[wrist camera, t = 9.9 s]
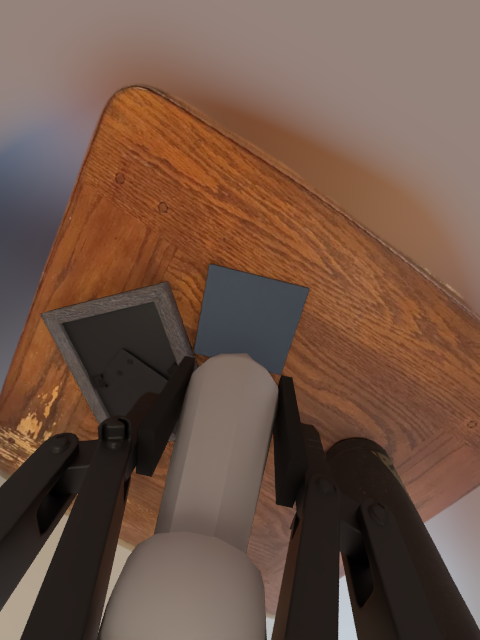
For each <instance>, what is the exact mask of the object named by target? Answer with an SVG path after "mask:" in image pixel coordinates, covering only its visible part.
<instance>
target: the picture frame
mask: <svg viewBox="0 0 480 640" xmlns="http://www.w3.org/2000/svg"><path fill="white" fill-rule="evenodd" d="M40 315H41V317H42V319H43V320H44V322H45V324H46V326H47V328H48V330H49V332H50V334H51V335H52V337H53V339H54V341H55V343H56V345H57V347H58V349H59V350H60V352H61V354H62V356H63V358H64V360H65V362H66V363H67V365H68V367H69V369H70V371H71V373H72V375H73V377H74V378H75V380H76V382H77V384H78V386H79V388H80V390H81V392H82V393H83V395H84V397H85V399H86V401H87V403H88V405H89V406H90V408H91V410H92V412H93V414H94V416H95V418H96V420H97V421H98V423H99V425H100V424H101V422H103V421H104V420H105V419H107V418H109V417H112V416H118V415H121V416H126V414H127V413H128V412H129V410H131V408H132V406H133V405H134V404H135V403H136V401H137V400H138V399H139V397H140V396H142V395H143V394H145V393H146V392H153V393H158V394H160V393H161V391H162V390H163V388H164V387H165V385H166V384H167V382H168V380H169V379H170V377H171V376H172V374H173V373H174V371H175V370H176V368H177V367H178V365H179V364H180V362H181V361H182V359H183V358H184V356H189V357H194V354H193V351H192V348H191V345H190V342H189V340H188V337H187V334H186V331H185V328H184V325H183V322H182V319H181V316H180V314H179V311H178V308H177V305H176V302H175V299H174V296H173V293H172V290H171V288H170V285H169V282H168V281H166V282H162V283H158V284H154V285H150V286H146V287H142V288H138V289H134V290H130V291H126V292H122V293H118V294H114V295H110V296H106V297H102V298H98V299H94V300H90V301H86V302H82V303H78V304H74V305H70V306H66V307H62V308H58V309H54V310H50V311H48V312H45V313H42V314H40ZM194 358H195V357H194ZM197 368H198V365H197V363H196V360H195V367H194V371H195V370H196V369H197ZM179 419H180V417H179ZM179 419H178V421H177V423H176V425H175V427H174V430H173V432H172V434H171V436H170V438H169V440H168V441H175V437H176V433H177V428H178V424H179Z"/></svg>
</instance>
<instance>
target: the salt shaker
mask: <svg viewBox="0 0 480 640" xmlns="http://www.w3.org/2000/svg"><path fill="white" fill-rule="evenodd" d="M277 411H278V387H277V385H276V383H275V382H274V380H273V378H272V377H271V375H270V374H269V372H268V371H267V369H266V368H264V367H263V366H262V365H260V364H259V363H257V362H256V361H254V360H253V359H252V358H251V357H250V356H249V355H248V354H247V353H240V354H219V355H217V356H214V357H211V358H209V359H208V360H207V361H206V362H204V363H203V364H202V365H201V366H200V367H198V368H197V369H196V370H195V371H194V372H193V373H192V376H191V378H190V381H189V383H188V386H187V389H186V392H185V397H184V401H183V406H182V410H181V415H180V419H179V424H178V428H177V433H176V437H175V442H174V446H173V451H172V455H171V460H170V465H169V469H168V474H167V478H166V483H165V487H164V492H163V496H162V501H161V505H160V510H159V514H158V519H157V523H156V528H155V532H154V536H152V537H150V538H148V539H147V540H145V541H143V542H142V543H140V544H138V545H137V546H136V547H135V549H134V550H133V552H132V553H131V554H130V556H129V557H128V559H127V561H126V563H125V565H124V567H123V570H122V572H121V574H120V576H119V578H118V580H117V582H116V585H115V587H114V589H113V591H112V594H111V596H110V598H109V601H108V604H107V606H106V609H105V613H104V616H103V619H102V623H101V626H100V629H99V632H98V636H97V639H96V640H267V636H266V614H265V593H264V584H263V580H262V576H261V572H260V571H259V570H258V568H257V567H256V566H255V565H254V564H253V562H252V561H251V560H250V559H249V558H248V556H247V555H246V552H247V547H248V542H249V537H250V532H251V528H252V523H253V519H254V514H255V510H256V505H257V501H258V496H259V492H260V487H261V483H262V479H263V474H264V470H265V465H266V461H267V456H268V452H269V447H270V443H271V438H272V434H273V429H274V425H275V420H276V416H277Z"/></svg>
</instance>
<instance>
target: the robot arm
mask: <svg viewBox="0 0 480 640" xmlns="http://www.w3.org/2000/svg"><path fill="white" fill-rule="evenodd" d="M195 359H196V358H194V357H189V356H184V358H183V359H182V361H181V362H180V364H179V365H178V367H177V368H176V370H175V371H174V373H173V374H172V376H171V377H170V379H169V380H168V382H167V384H166V385H165V387H164V388H163V390H162V391H161V393H160V394H158V393H153V392H146V393H145V394H143V395H142V396H140V397H139V399H138V400H137V401H136V403H135V404H134V405H133V406H132V408H131V410H129V412H128V413H127V414H126V416H121V415H118V416H112V417H109V418H107V419H105V420H104V421H103V422H101V424H100V425H99V426H98V436H99V439H97V440H89V441H79V440H78V437H77V436H76V435H75V434H72V433H61V434H57V435H55V436H53V437H50V438H49V439H48V440H46V441H45V442H44V443H43V444H42V445H41V446H40V447H39V448H38V449H37V450H36V451H35V452H34V453H33V454H32V455H31V456H30V457H29V458H28V459H27V460H26V461H25V462H24V463H23V464H22V465H21V466H20V467H19V468H18V470H17V471H16V472H15V473H14V474H13V475H12V476H11V477H10V478H9V479H8V480H7V481H6V482H5V483H4V484H3V485H2V486H1V487H0V611H1V610H2V608H3V606H4V605H5V603H6V602H7V600H8V599H9V597H10V596H11V594H12V593H13V591H14V590H15V588H16V587H17V585H18V584H19V582H20V580H21V579H22V577H23V576H24V574H25V573H26V571H27V570H28V568H29V567H30V565H31V564H32V562H33V561H34V559H35V558H36V556H37V555H38V553H39V551H40V550H41V548H42V547H43V545H44V544H45V542H46V541H47V539H48V538H49V536H50V535H51V533H52V532H53V530H54V528H55V527H56V526H57V524H58V523H59V521H60V519H61V518H62V516H63V515H64V513H65V512H66V510H67V509H68V507H69V506H70V504H71V503H72V501H73V500H74V498H75V497H76V495H77V494H78V495H77V498H76V500H75V503H74V505H73V508H72V510H71V513H70V515H69V518H68V521H67V523H66V525H65V528H64V531H63V533H62V536H61V538H60V541H59V543H58V546H57V548H56V551H55V553H54V556H53V558H52V561H51V563H50V566H49V568H48V571H47V573H46V576H45V578H44V581H43V583H42V586H41V588H40V591H39V594H38V596H37V598H36V601H35V604H34V606H33V609H32V611H31V614H30V616H29V619H28V621H27V624H26V626H25V629H24V631H23V634H22V636H21V639H20V640H96V639H97V635H98V631H99V626H100V621H101V617H102V612H103V607H104V603H105V598H106V594H107V589H108V584H109V580H110V575H111V570H112V566H113V561H114V556H115V551H116V547H117V542H118V538H119V533H120V529H121V524H122V519H123V515H124V510H125V505H126V501H127V496H128V491H129V487H130V482H131V474H132V472H133V470H134V468H135V466H136V473H137V474H141V475H146V476H150V477H152V475H153V473H154V471H155V468H156V466H157V464H158V462H159V460H160V458H161V455H162V453H163V451H164V449H165V447H166V445H167V443H168V440H169V438H170V436H171V434H172V432H173V430H174V427H175V425H176V423H177V421H178V419H179V417H180V415H181V410H182V406H183V401H184V397H185V392H186V389H187V386H188V383H189V381H190V378H191V376H192V373H193V372H194V367H195ZM273 439H274V464H275V490H276V504H277V505H282V506H286V507H291V508H293V505H294V502H295V500H296V509H297V511H296V514H295V516H294V519H293V522H292V524H291V527H290V529H291V530H292V531H291V537H290V542H289V547H288V553H287V558H286V563H285V569H284V574H283V579H282V585H281V590H280V595H279V601H278V606H277V611H276V617H275V623H274V627H273V633H272V638H271V640H338V613H339V608H338V607H339V553H340V551H341V555H342V560H343V565H344V570H345V576H346V581H347V586H348V591H349V596H350V601H351V607H352V612H353V617H354V622H355V628H356V633H357V638H358V640H444V638H443V636H442V633H441V631H440V628H439V626H438V623H437V621H436V618H435V616H434V613H433V611H432V609H431V606H430V604H429V601H428V599H427V596H426V594H425V591H424V589H423V586H422V584H421V581H420V579H419V576H418V574H417V572H416V569H415V567H414V564H413V562H412V559H411V557H410V554H409V552H408V549H407V547H406V544H405V542H404V540H403V537H402V535H401V532H400V530H399V527H398V525H397V522H396V520H395V518H394V516H393V514H392V513H391V511H390V510H389V509H388V508H387V507H386V506H385V505H384V504H383V503H381V502H380V501H379V500H376V499H374V498H370V497H366V498H364V499H362V501H361V502H360V501H358V500H356V499H354V498H352V497H350V496H348V495H347V494H345V493H343V492H342V491H341V490H340V489H339V487H338V485H337V483H336V482H335V481H334V480H333V479H332V478H331V476H330V473H329V469H328V466H327V462H326V458H325V454H324V451H323V447H322V443H321V440H320V436H319V433H318V432H317V430H316V429H315V427H314V426H313V425H308V424H303V423H301V422H300V416H299V411H298V406H297V400H296V395H295V390H294V384H293V379H292V377H287V376H282V375H281V377H280V381H279V385H278V411H277V416H276V420H275V425H274V429H273Z"/></svg>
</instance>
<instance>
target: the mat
mask: <svg viewBox="0 0 480 640" xmlns="http://www.w3.org/2000/svg"><path fill="white" fill-rule="evenodd" d="M308 292H309V288H307V287H303V286H299V285H295V284H291V283H287V282H283V281H279V280H275V279H271V278H267V277H263V276H259V275H255V274H251V273H247V272H243V271H239V270H234V269H230V268H226V267H222V266H218V265H214V264H209V269H208V275H207V280H206V286H205V292H204V297H203V303H202V308H201V314H200V319H199V325H198V330H197V336H196V342H195V347H194V353H196V354H200V355H204V356H208V357H214V356H217V355H219V354H240V353H247V354H248V355H249V356H250V357H251V358H252V359H253V360H254V361H256V362H257V363H259V364H260V365H262V366H263V367H264V368H266V369H267V371H268V372H271V373H275V374H279V375H281V372H282V369H283V367H284V364H285V361H286V358H287V355H288V352H289V349H290V346H291V343H292V340H293V337H294V334H295V331H296V328H297V325H298V322H299V319H300V316H301V313H302V310H303V307H304V304H305V301H306V298H307V295H308Z"/></svg>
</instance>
